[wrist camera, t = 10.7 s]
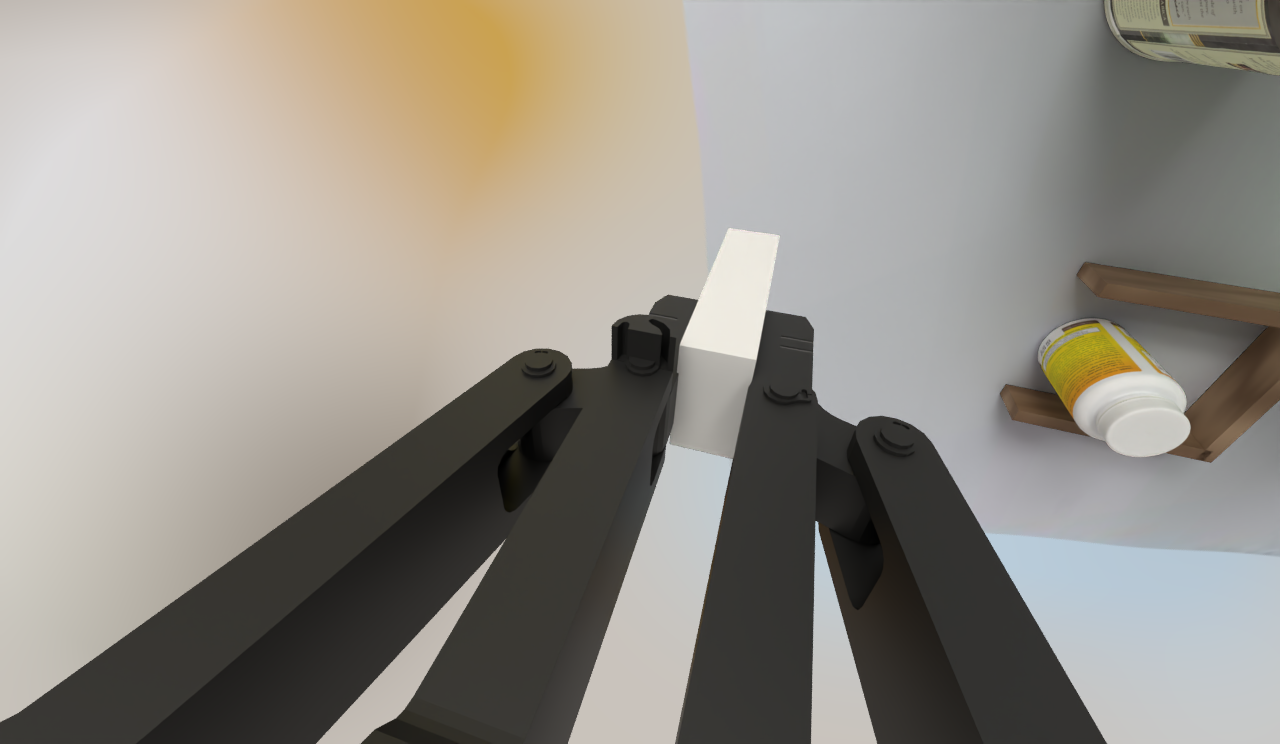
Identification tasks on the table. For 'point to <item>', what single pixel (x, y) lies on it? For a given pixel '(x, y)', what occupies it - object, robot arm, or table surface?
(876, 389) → the table surface
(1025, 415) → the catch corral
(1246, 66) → the coffee can
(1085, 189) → the table surface
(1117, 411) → the supplement bottle
